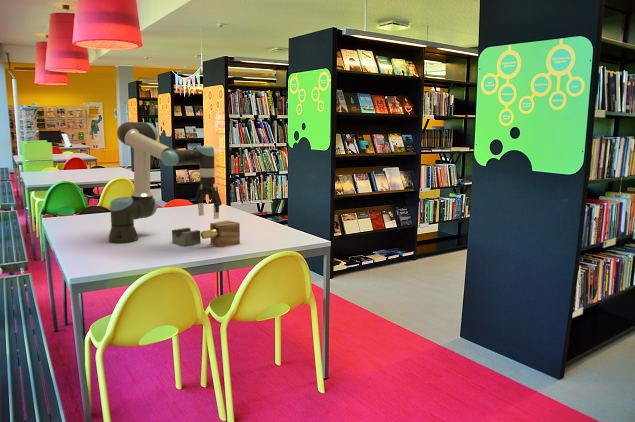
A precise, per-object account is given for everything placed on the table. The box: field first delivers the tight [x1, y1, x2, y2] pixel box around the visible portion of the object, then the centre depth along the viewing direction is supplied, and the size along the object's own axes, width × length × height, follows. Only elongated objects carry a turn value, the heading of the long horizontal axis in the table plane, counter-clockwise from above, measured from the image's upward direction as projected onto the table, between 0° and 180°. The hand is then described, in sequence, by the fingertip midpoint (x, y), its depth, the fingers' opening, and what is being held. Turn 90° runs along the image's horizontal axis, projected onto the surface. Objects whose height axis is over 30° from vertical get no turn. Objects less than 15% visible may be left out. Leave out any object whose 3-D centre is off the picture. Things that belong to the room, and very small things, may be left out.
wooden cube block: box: [209, 220, 241, 248], centre depth 269 cm, size 10×12×12 cm
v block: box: [171, 227, 202, 247], centre depth 270 cm, size 12×10×7 cm
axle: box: [200, 229, 219, 240], centre depth 265 cm, size 18×4×4 cm, turn 137°
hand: (208, 217), depth 259 cm, fingers open, 13 cm apart
